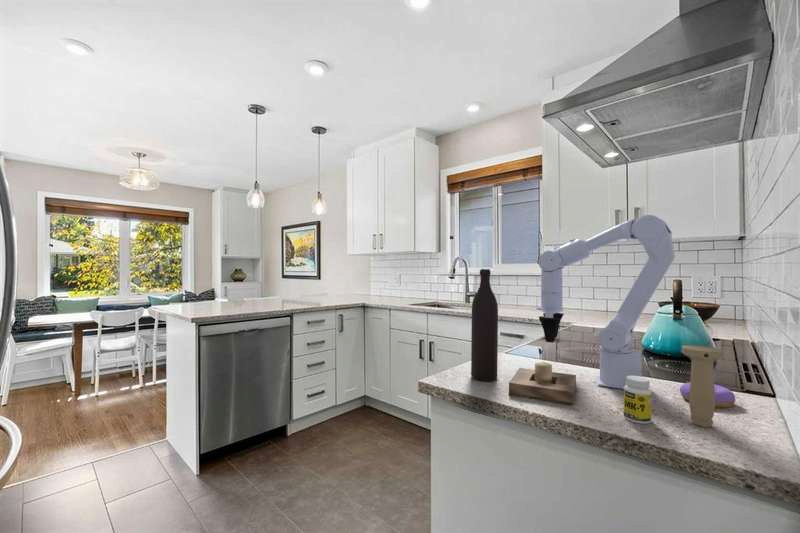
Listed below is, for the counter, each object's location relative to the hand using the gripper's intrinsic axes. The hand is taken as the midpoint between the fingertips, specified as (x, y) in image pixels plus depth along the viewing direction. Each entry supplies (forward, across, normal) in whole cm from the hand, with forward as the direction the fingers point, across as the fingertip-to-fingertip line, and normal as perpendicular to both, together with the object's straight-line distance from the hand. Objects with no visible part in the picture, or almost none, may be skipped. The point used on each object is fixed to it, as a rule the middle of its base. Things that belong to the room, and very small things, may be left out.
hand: (551, 339), depth 109 cm
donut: (+10, +8, +34) cm, 36 cm away
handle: (+10, +24, +30) cm, 40 cm away
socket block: (+9, +18, 0) cm, 20 cm away
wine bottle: (+10, +15, -16) cm, 24 cm away
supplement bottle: (+10, +27, +19) cm, 34 cm away
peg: (+9, +18, 0) cm, 20 cm away
